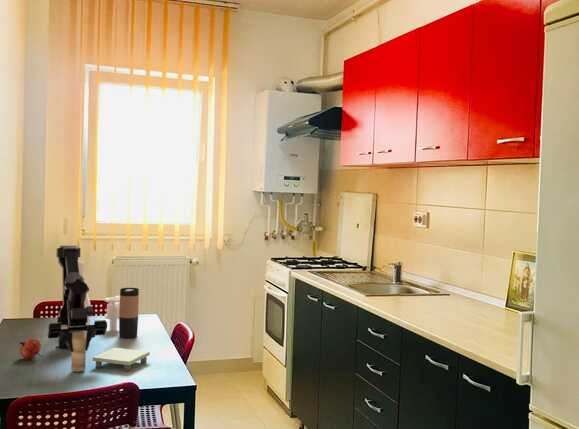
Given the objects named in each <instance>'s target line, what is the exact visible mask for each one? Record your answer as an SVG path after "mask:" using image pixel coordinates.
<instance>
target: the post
mask: <svg viewBox="0 0 579 429" xmlns="http://www.w3.org/2000/svg"><path fill="white" fill-rule="evenodd" d="M86 335H87V332H86V331H74V332H72V352H71V363H70V364H71V369H70V370H71V371H73V372H83V371H85V370H86V359H87V358H86V356H87V355H86V354H87V351H86Z"/></svg>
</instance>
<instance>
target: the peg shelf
mask: <svg viewBox="0 0 579 429" xmlns="http://www.w3.org/2000/svg"><path fill="white" fill-rule="evenodd" d="M150 354H151V352H150V351H147V350H146V351H145V350H138V349H137V350H136V349H130V348H129V349H128V348H122V347H121V348H119V347H113V348H111V349H109V350H107V351H104V352H102V353H100V354H99V353H98V355H95V356H94V355H93V357H92V362H95V368H96V369H101V368H102V367H103V366H102V365H103V363H107V364H108V363H109V364H116V365H122V366H123V365H124V366H123V367H124V368H123V369H124V370H123V371H124V372H125V373H129V371H130V372H131V365H133V364H135V363H137V362H139V361H140V363H141V364H147V360H148V359H147V357H149V356H151V355H150Z"/></svg>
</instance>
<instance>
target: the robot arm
mask: <svg viewBox="0 0 579 429" xmlns="http://www.w3.org/2000/svg"><path fill="white" fill-rule="evenodd" d="M55 252H56V253H55V254H56V255H55V256H56V258H57V262H58V264H59V266H60V267H61V269H62V307H61V309H60V310H59V312H58V316H57V317H56V322H50V323H49V324H48V325H47V326H48V327H47V338H48V339H58V345H56V346H55V348H56V349H61V350H62V349H63V350H69V351H70V353H72V332H74V331H87V332H86V352H88V350H89V346H90V342H91V340H92V339H93V338H95V337H96V336H97V337H98V336H105V335H106V333H107V329H108V322H107V321H106V320H105V319H100V320H99V319H98V320H97V319H96V320H94V322H93V324H90V325H86V323H87V316H90V317H92V316H93V315H94V310H93V305H90V306H87V307H86V308H85V304H84V301H85V300H86V295H87V294H88V293H89V291H90V288H89V286H88V284H87V283H86V282H85V278H84V277H82V276H81V275H80V274H79V267H78V261H79V258H81V248H80V247H78V246H77V245H59V247H58V248H56V251H55Z"/></svg>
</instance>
